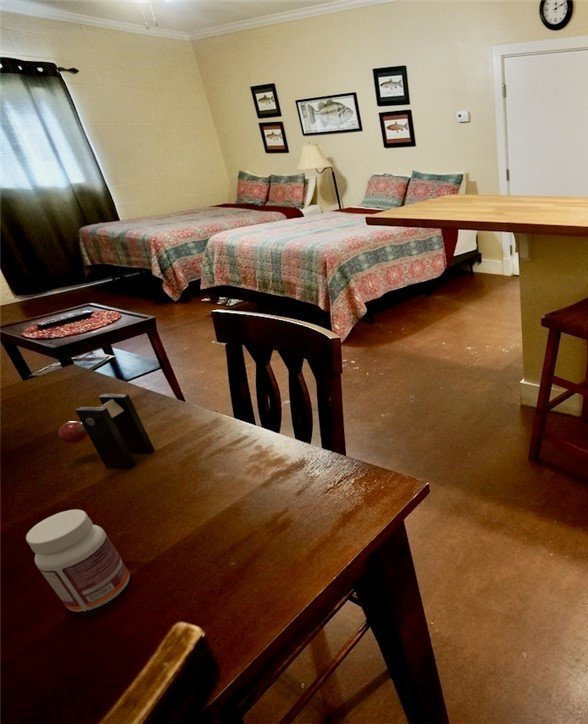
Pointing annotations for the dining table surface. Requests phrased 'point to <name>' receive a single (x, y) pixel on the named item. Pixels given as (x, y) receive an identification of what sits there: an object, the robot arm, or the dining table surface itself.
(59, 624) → the dining table surface
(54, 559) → the pill bottle
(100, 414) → the bracket
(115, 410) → the lever
